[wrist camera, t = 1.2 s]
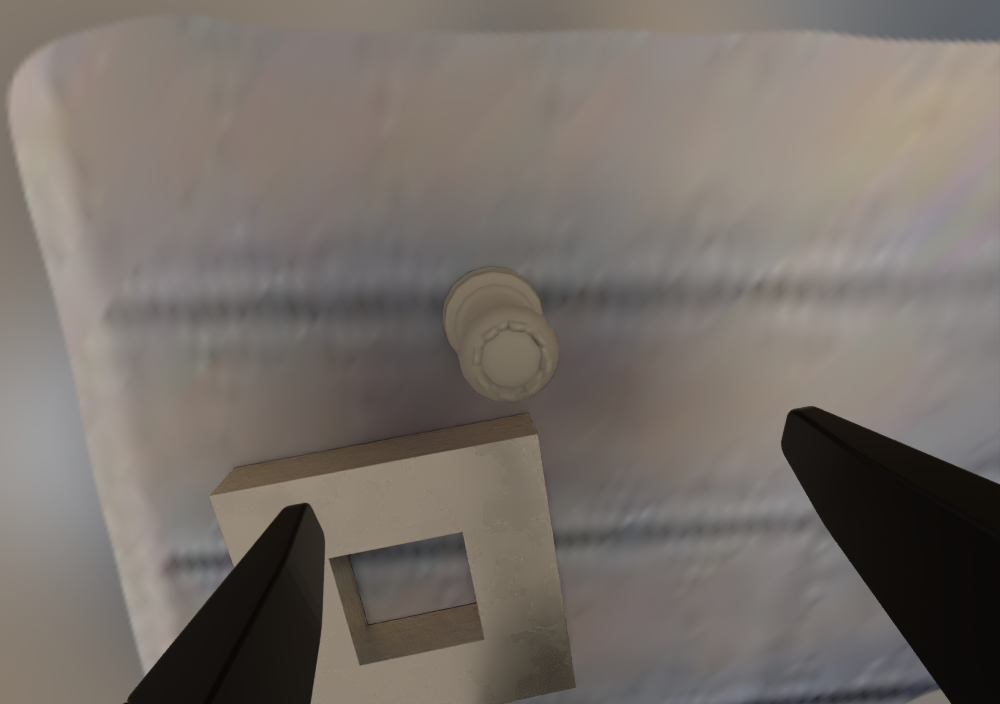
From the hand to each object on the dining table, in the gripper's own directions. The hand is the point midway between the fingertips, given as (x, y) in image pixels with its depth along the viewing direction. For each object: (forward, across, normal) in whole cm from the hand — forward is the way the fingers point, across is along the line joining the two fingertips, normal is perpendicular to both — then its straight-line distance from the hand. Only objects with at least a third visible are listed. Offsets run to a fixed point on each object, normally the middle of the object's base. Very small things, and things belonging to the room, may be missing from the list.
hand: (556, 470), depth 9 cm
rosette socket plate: (+10, +6, +15) cm, 19 cm away
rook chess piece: (+14, 0, +4) cm, 15 cm away
